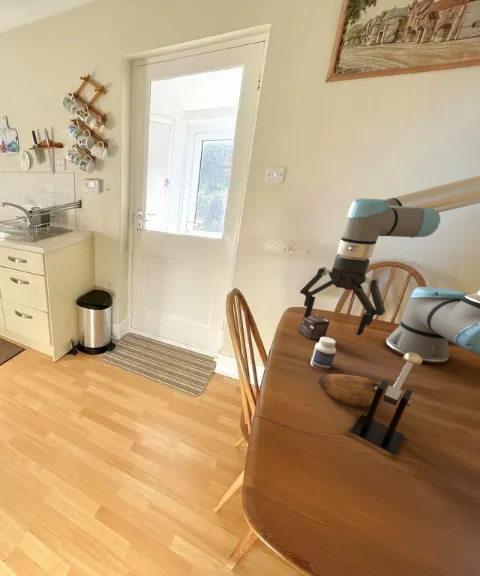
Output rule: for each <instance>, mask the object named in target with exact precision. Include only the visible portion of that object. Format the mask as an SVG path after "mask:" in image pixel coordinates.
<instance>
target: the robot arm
mask: <svg viewBox="0 0 480 576" xmlns="http://www.w3.org/2000/svg"><path fill="white" fill-rule="evenodd" d="M477 204H480V174H479V175H476V176H475V175H474V176H471V177H467V178H464V179H459V180H456V181H453V182H449V183H445V184H439V185H437V186H432V187H429V188H425V189H421V190H418V191H414V192H410V193H405V194H402V195H398V196H394V197H390V198H386V199H381V198H356V199H355V200H353V201H352V203H351V205H350V207H349V210H348V213H347V215H346V221H345V224H344V228H343V231H342V235H341V238H340V241H339V245H338V249H337V250H336V251H337V252H336V255H335V258H334V261H333V265H332V268H331V269H328V268H327V267H325V266H322V267H320V268H318V270H317V272H316V275H314V276H313V277H312V279H310V280H309V281H308V282H307V283H306V284H305V286H304V287H303V288H301V289H300V291H299V293H300V294H301V295H303V296H305V299H304V302H303V306H304V307H305V308H306V309H305V312H304V315H305V316H304V317H305V318H308V317H309V316H310V315H311V314H312V311H313V307H314V304H315V300H316V296H314V295H316V294H318V293H320V292H321V291H323V290H325V289H327V288H329V287H331V286H335V288H339V289H344V290H346V291H352V292H353V293H354V294H355V295H356V297H357V299H358V301H359V302H360V303H361V305H362V307H363V308H364V310H365V312H364V313H363V314H362V317H361V320H360V323H359V325H358V329H357V331H356V335H357V336H361V335H362V334H363V333H364V331H365V328H366V326H370V325H371V324H372V323H373V320H374V317H375V316H380V317H381V316H383V315H384V314H385V313H386V309H385V306H384V302H383V299H382V295H381V291H380V287H379V284H380V278H378V277H375V278H372V277H371V278H370V277H366V274H367V271H368V268H369V265H370V262H371V260H370V258H372V256H373V254H374V250H375V247H376V244H377V242H378V239H379V237H394V238H395V237H397V238H411V239H413V238H426V237H429V236H431V235H433V234H434V233H435V232H436V231H437V230H438V229H439V225H440V223H441V215H440V213H443V212H447V211H452V210H456V209H460V208H464V207H465V208H466V207H469V206H472V205H477ZM327 275H328V276H329V278H330V280H329V281H327V282H326V283H323V284H322V285H320V286H319V287H317V288H314V289H313V290H311V288H313V287H314V286H315V285H316V284H317V283H318V282H319V281H320V280H321V279H322V278H323V277H325V276H327ZM364 283H365V284H366V285H367V287H369V291H370V295H371V298H372V302H373V304H372V302H371V300H370V299H369V297H368V296H367V294H366V292H365V291H364V287H363V286H362V284H364ZM309 290H311V291H309ZM451 344H455V346H457V347H459V348H460V349H463V350H466V351H468V352H470V353H472V354H474V355H480V289H479V290H478V291H477V292H475V293H471V294H470V293H469V294H467V293H466V292H464V291H461V290H457V289H451V288H444V287H436V286H419V287H416V288H415V289H413V291H412V292H411V295H410V296H409V299H408V302H407V304H406V307H405V310H404V312H403V316H402V318H401V321H400V323H399V325H398V326H397V328H396V329H394V331H393V332H392V333H390V335H388V337H387V338H386V340H385V342H384V345H385V347H386V348H387V349H388V350H390V351H391V352H392V353H394V354H396V355H398V356H400V357H402V358H403V356H404V355H405V354H406V353H416V354H418V355H419V356H421V358H422V363H421V364H427V365H444V364H446V363H447V362H448V360H449V357H450V350H449V345H451Z"/></svg>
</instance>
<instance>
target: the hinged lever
mask: <svg viewBox="0 0 480 576" xmlns="http://www.w3.org/2000/svg"><path fill="white" fill-rule="evenodd" d="M402 361H403V362H404V364H405V365H404V366H403V368H402V370H401V372H400V374H399V376H398V377H397V379H396V381H395V382H394V385H393V386H391V385H389V386H388V387H387V388H386V391H385V393H384V396H383V398H382V401H383V402H385V403H387V404H390V405H392V406H397V405H398V402H399V401H400V399H401V397H402V395H403V394H402V393H403V390H401V389H402V387H403V385H404V383H405V381H406V380H407V377H408V376H409V374H410V372H411V370H412V369H413V367H419V366H421V364H423V363H422V358H421V356H419V355H418V354H416V353H406V354H405V355H404V356H403V357H402Z"/></svg>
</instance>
